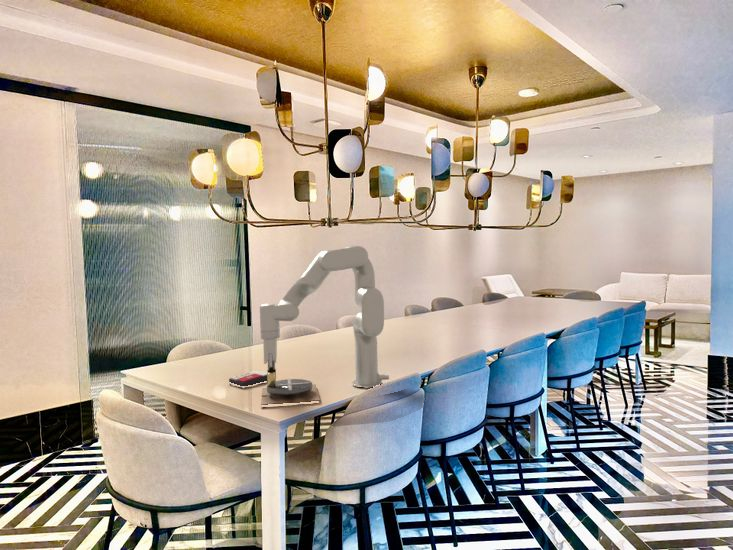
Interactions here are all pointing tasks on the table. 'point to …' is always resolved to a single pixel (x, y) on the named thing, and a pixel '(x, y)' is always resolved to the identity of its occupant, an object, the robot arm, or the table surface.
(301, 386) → the handwheel
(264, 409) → the table surface
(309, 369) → the table surface
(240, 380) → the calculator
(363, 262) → the robot arm
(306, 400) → the valve base
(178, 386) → the table surface
